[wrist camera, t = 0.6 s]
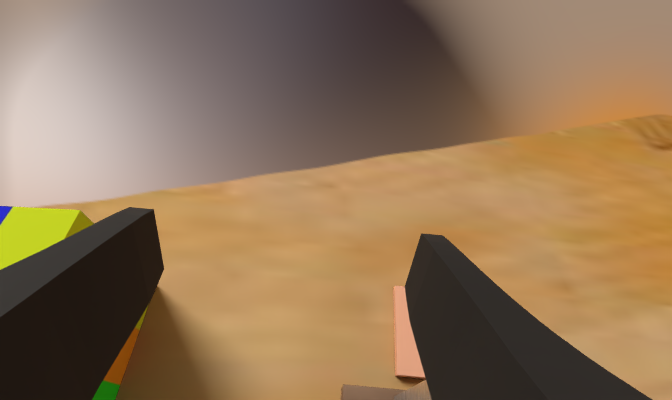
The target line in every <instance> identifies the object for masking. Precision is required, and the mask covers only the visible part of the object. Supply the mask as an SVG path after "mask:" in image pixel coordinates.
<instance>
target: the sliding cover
mask: <svg viewBox="0 0 672 400" xmlns="http://www.w3.org/2000/svg"><path fill="white" fill-rule="evenodd" d="M394 400H432V399H431V396H430V392H429V389H428V385H427V381H426V380H424V381H422V382H420V383H419V384H417V385H415V386H413V387H411V388H409V389H407V390H406V391H404V392H402V393H400V394H398V395H396V396H394Z"/></svg>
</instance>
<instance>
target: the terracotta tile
mask: <svg viewBox="0 0 672 400" xmlns="http://www.w3.org/2000/svg"><path fill="white" fill-rule="evenodd" d="M393 296H394V341H395V376H399V377H410V378H421V379H426V378H425V374H424V371H423V367H422V364H421V360H420V357H419V353H418V350H417V346H416V343H415V339H414V335H413V332H412V328H411V324H410V320H409V314H408V308H407V301H406V293H405V287H404V286H394V288H393Z"/></svg>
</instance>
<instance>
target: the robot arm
mask: <svg viewBox="0 0 672 400" xmlns="http://www.w3.org/2000/svg"><path fill="white" fill-rule="evenodd" d="M163 270H164V266H163V260H162V254H161V249H160V243H159V237H158V231H157V226H156V220H155V214H154V209H143V208H132V207H129V208H127V209H124V210H122V211H120V212H117V213H115V214H113V215H111V216H109V217H107V218H105V219H103V220H101V221H99V222H97V223H95V224H93V225H91V226H89V227H87V228H85V229H83V230H81V231H79V232H77V233H75V234H73V235H71V236H69V237H67V238H65V239H63V240H61V241H59V242H57V243H55V244H53V245H51V246H49V247H48V248H46V249H43V250H41V251H39V252H37V253H35V254H33V255H31V256H29V257H27V258H24V259H22V260H20V261H18V262H16V263H14V264H12V265H9V266H7V267H5V268H3V269H1V270H0V400H92V399H93V397H94V395H95V394H96V392H97V390H98V388H99V386H100V385H101V383H102V381H103V380H104V378H105V376H106V375H107V373H108V371H109V370H110V368H111V366H112V365H113V363H114V361H115V360H116V358H117V356H118V355H119V353H120V351H121V350H122V348H123V346H124V345H125V343H126V341H127V340H128V338H129V337H130V335H131V333H132V332H133V330H134V328H135V327H136V325H137V323H138V321H139V320H140V318H141V316H142V315H143V313H144V311H145V310H146V308H147V306H148V304H149V303H150V300H151V298H152V296H153V294H154V292H155V289H156V287H157V285H158V282H159V280H160V277H161V275H162V272H163ZM405 293H406V301H407V308H408V314H409V320H410V324H411V328H412V332H413V335H414V339H415V343H416V346H417V350H418V353H419V357H420V360H421V364H422V367H423V371H424V374H425V378H426V381H427V385H428V389H429V392H430V396H431V399H432V400H652V399H650V398H649V397H647V396H646V395H644V394H643V393H641V392H639V391H638V390H636V389H635V388H633V387H632V386H630V385H629V384H627V383H626V382H624V381H623V380H621V379H619V378H618V377H616V376H615V375H613V374H612V373H610V372H609V371H607V370H606V369H604V368H603V367H601V366H600V365H598V364H597V363H595V362H594V361H593V360H591V359H590V358H588V357H587V356H585V355H584V354H583V353H581V352H580V351H579V350H577V349H576V348H574V347H573V346H572V345H570V344H569V343H568V342H566V341H565V340H563V339H562V338H561V337H559V336H558V335H557V334H555V333H554V332H553V331H551V330H550V329H549V328H548V327H546V326H545V325H544V324H542V323H541V322H540V321H539V320H537V319H536V318H535V317H534V316H533V315H531V314H530V313H529V312H528V311H527V310H525V309H524V308H523V307H522V306H520V305H519V304H518V303H517V302H516V301H515V300H513V299H512V298H511V297H510V296H509V295H508V294H506V293H505V292H504V291H503V290H502V289H501V288H500V287H499V286H497V285H496V284H495V283H494V282H493V281H492V280H491V279H490V278H489V277H488V276H486V275H485V274H484V273H483V272H482V271H481V270H480V269H479V268H478V267H477V266H476V265H475V264H474V263H472V262H471V261H470V260H469V259H468V258H467V257H466V256H465V255H464V254H463V253H462V252H461V251H460V250H459V249H457V248H456V247H455V246H454V245H453V244H452V243H451V242H450V241H449V240H447V239H446V238H445V237H444V236H443V235H431V234H421V236H420V239H419V243H418V246H417V249H416V252H415V256H414V259H413V262H412V265H411V269H410V272H409V275H408V278H407V281H406V285H405Z"/></svg>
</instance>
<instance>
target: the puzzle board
mask: <svg viewBox="0 0 672 400" xmlns="http://www.w3.org/2000/svg"><path fill="white" fill-rule="evenodd" d="M404 391H406V390H399V389H388V388H377V387H367V386H356V385H345V384H343V386H342V388H341V400H394V396H396V395H398V394H400V393H402V392H404Z"/></svg>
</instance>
